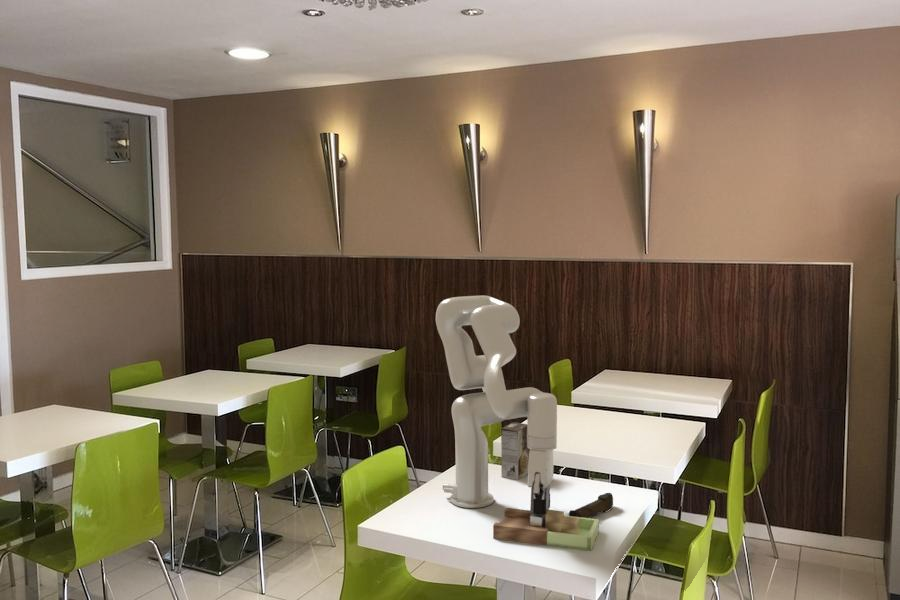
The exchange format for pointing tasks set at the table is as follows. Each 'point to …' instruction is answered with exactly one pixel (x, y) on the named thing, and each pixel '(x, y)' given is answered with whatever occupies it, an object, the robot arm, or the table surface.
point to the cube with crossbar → (539, 519)
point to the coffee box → (514, 451)
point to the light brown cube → (554, 520)
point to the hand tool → (594, 507)
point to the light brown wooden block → (570, 525)
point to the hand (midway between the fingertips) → (541, 509)
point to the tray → (581, 541)
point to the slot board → (519, 528)
